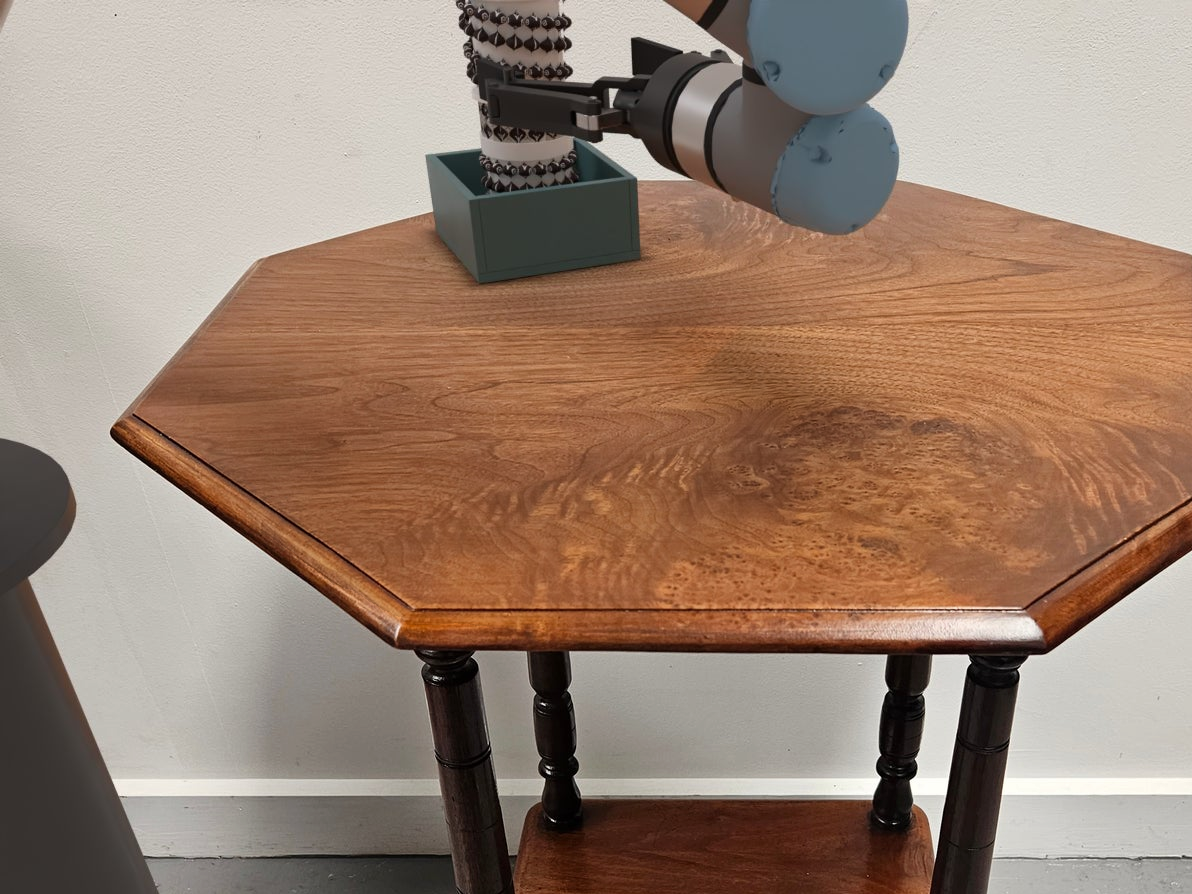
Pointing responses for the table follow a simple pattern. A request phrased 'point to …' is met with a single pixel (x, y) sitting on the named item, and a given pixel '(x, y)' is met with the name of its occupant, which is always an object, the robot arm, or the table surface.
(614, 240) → the bin
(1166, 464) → the table surface
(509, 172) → the bracelet display cylinder
